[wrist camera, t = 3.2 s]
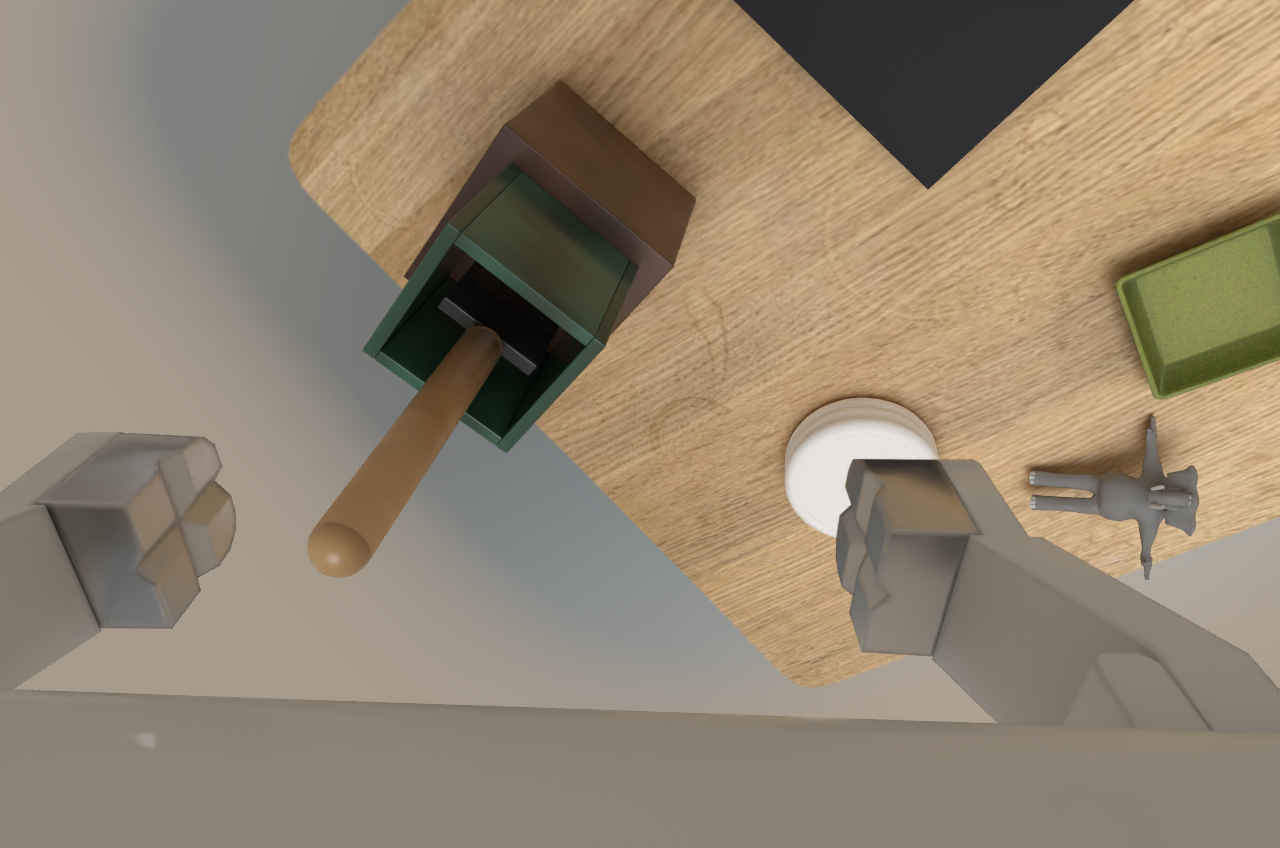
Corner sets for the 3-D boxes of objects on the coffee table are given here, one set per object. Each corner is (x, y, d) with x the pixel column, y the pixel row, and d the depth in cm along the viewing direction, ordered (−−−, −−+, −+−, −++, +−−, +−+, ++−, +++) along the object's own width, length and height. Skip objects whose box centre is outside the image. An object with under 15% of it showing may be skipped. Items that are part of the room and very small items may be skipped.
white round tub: (901, 526, 56) (906, 560, 53) (767, 491, 56) (765, 522, 53) (961, 416, 50) (971, 448, 47) (811, 377, 51) (812, 406, 48)
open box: (470, 212, 48) (325, 351, 33) (560, 80, 43) (436, 176, 28) (596, 312, 51) (513, 483, 36) (696, 199, 45) (647, 345, 31)
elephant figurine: (1026, 408, 49) (1202, 411, 44) (1041, 419, 54) (1201, 423, 49) (1018, 566, 49) (1196, 588, 43) (1034, 563, 53) (1195, 583, 48)
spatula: (484, 253, 38) (237, 536, 22) (504, 227, 37) (260, 502, 21) (562, 313, 40) (384, 627, 23) (582, 290, 39) (412, 598, 22)
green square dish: (1314, 325, 43) (1335, 343, 42) (1143, 385, 47) (1156, 403, 45) (1284, 190, 40) (1305, 203, 38) (1101, 266, 44) (1113, 281, 42)
